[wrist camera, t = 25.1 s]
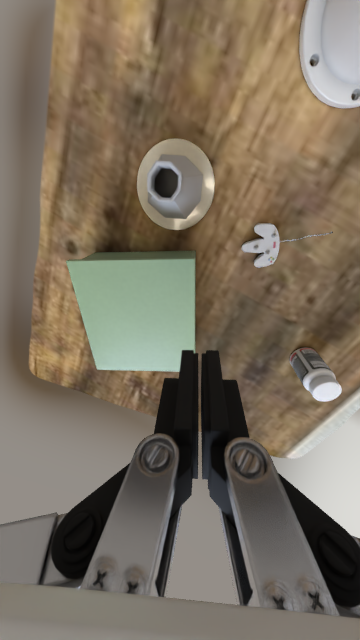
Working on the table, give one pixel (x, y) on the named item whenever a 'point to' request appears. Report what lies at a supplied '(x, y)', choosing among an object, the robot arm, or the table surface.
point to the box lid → (136, 310)
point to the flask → (174, 186)
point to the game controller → (266, 244)
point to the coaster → (198, 160)
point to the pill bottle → (315, 374)
